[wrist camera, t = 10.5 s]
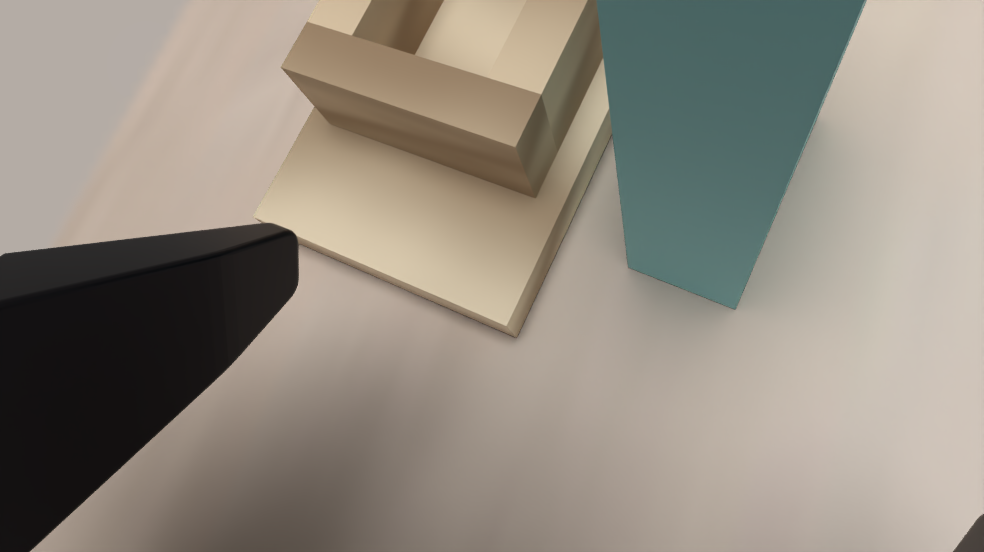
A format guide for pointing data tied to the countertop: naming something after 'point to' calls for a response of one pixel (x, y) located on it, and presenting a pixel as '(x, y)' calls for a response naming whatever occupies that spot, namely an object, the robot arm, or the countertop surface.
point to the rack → (445, 143)
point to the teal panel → (713, 125)
